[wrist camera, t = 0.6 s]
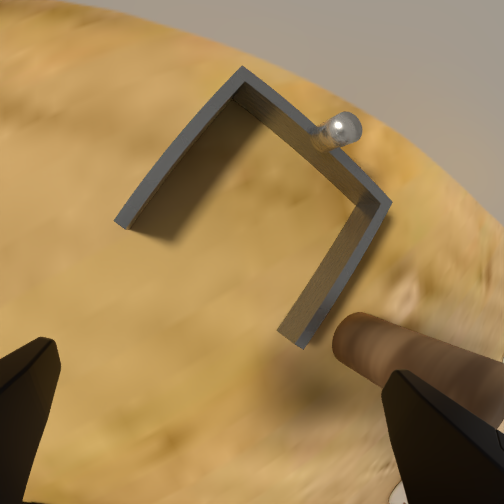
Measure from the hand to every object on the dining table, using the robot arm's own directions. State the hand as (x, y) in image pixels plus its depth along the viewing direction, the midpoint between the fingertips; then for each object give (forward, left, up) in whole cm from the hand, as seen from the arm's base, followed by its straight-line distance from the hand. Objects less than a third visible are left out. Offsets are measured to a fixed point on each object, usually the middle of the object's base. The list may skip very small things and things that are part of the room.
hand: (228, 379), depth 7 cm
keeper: (+4, -5, -13) cm, 15 cm away
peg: (-6, -13, -13) cm, 20 cm away
